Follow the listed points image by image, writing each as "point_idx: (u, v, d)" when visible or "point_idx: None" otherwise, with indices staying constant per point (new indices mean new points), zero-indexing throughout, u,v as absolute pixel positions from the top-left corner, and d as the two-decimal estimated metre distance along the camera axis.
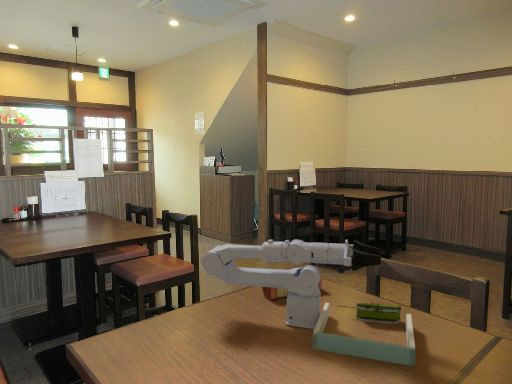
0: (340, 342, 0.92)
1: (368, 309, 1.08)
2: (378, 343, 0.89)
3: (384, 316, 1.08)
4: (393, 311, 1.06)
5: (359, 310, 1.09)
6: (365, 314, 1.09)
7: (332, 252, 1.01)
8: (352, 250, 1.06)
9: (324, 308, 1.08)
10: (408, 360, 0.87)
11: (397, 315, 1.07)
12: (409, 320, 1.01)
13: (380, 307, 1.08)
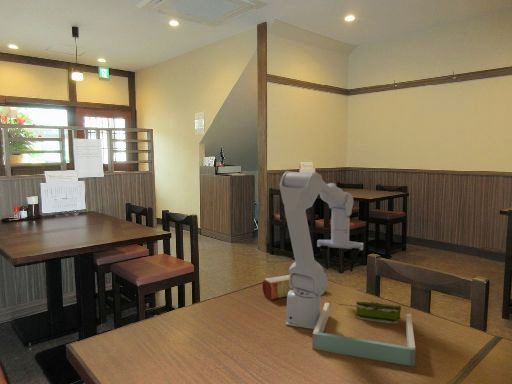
0: (340, 342, 0.92)
1: (367, 308, 1.08)
2: (378, 343, 0.89)
3: (383, 315, 1.08)
4: (392, 311, 1.06)
5: (359, 309, 1.10)
6: (365, 313, 1.10)
7: None
8: None
9: (324, 308, 1.08)
10: (408, 360, 0.87)
11: (397, 315, 1.07)
12: (409, 320, 1.01)
13: (379, 306, 1.08)
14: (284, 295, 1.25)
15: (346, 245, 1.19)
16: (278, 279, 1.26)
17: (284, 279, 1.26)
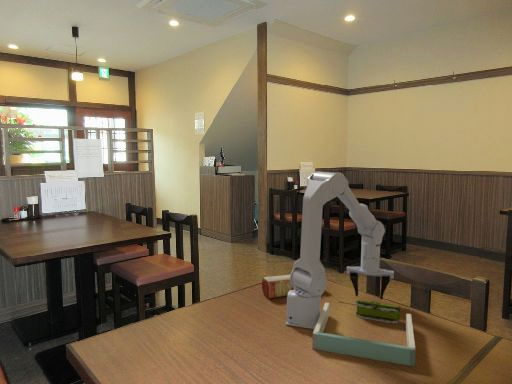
0: (340, 342, 0.92)
1: (366, 307, 1.09)
2: (378, 343, 0.89)
3: (383, 315, 1.09)
4: (391, 310, 1.06)
5: (358, 307, 1.11)
6: (364, 312, 1.11)
7: None
8: (359, 273, 1.23)
9: (324, 308, 1.08)
10: (408, 360, 0.87)
11: (396, 315, 1.07)
12: (409, 320, 1.01)
13: (379, 306, 1.09)
14: (282, 294, 1.26)
15: (377, 273, 1.19)
16: (277, 278, 1.26)
17: (283, 278, 1.27)
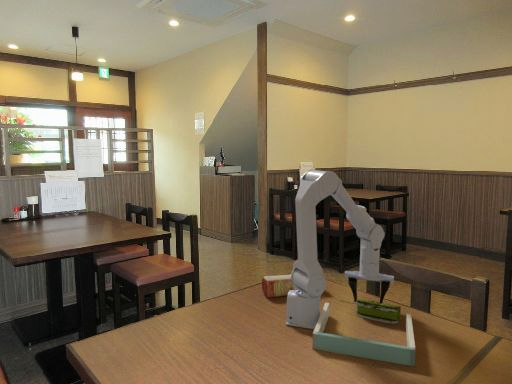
0: (340, 342, 0.92)
1: (366, 306, 1.09)
2: (378, 343, 0.89)
3: (383, 315, 1.09)
4: (390, 310, 1.06)
5: (358, 306, 1.12)
6: (364, 311, 1.11)
7: None
8: (358, 278, 1.19)
9: (324, 308, 1.08)
10: (408, 360, 0.87)
11: (396, 315, 1.07)
12: (409, 320, 1.01)
13: (379, 305, 1.09)
14: (281, 294, 1.26)
15: (376, 278, 1.14)
16: (276, 278, 1.27)
17: (282, 278, 1.27)
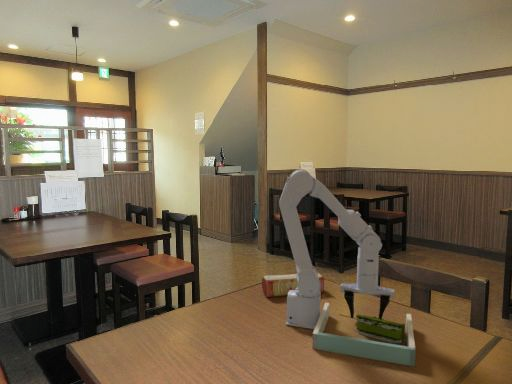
0: (340, 342, 0.92)
1: (366, 322, 0.99)
2: (378, 343, 0.89)
3: (385, 333, 0.98)
4: (393, 329, 0.96)
5: (358, 322, 1.02)
6: (365, 328, 1.01)
7: None
8: (355, 291, 1.08)
9: (324, 308, 1.08)
10: (408, 360, 0.87)
11: (399, 334, 0.96)
12: (409, 320, 1.01)
13: (380, 322, 0.98)
14: (281, 294, 1.26)
15: (375, 292, 1.03)
16: (276, 277, 1.27)
17: (282, 278, 1.27)
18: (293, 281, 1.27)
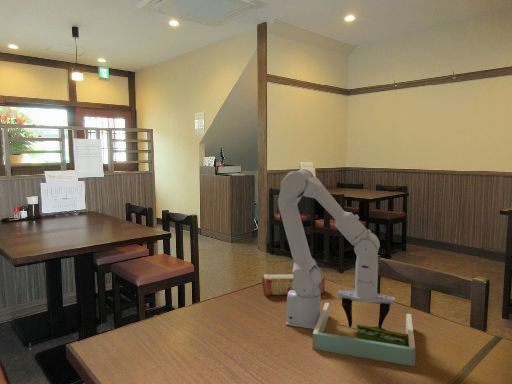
0: (340, 342, 0.92)
1: (368, 333, 0.94)
2: (378, 343, 0.89)
3: None
4: (396, 339, 0.91)
5: (359, 333, 0.96)
6: (366, 339, 0.95)
7: None
8: (353, 299, 1.02)
9: (324, 308, 1.08)
10: (408, 360, 0.87)
11: (403, 345, 0.91)
12: (409, 320, 1.01)
13: (383, 333, 0.93)
14: (279, 293, 1.27)
15: (374, 300, 0.98)
16: (275, 276, 1.28)
17: (281, 277, 1.28)
18: (292, 281, 1.27)
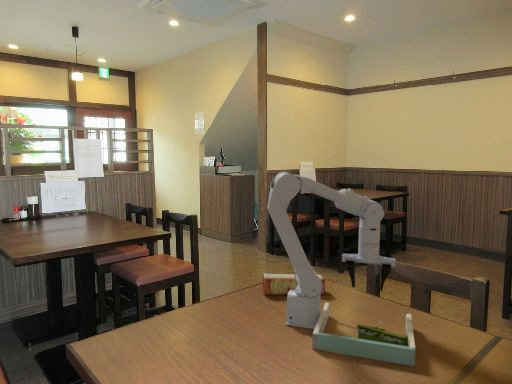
0: (340, 342, 0.92)
1: (367, 333, 0.94)
2: (378, 343, 0.89)
3: None
4: (395, 341, 0.90)
5: (359, 332, 0.96)
6: (366, 339, 0.96)
7: None
8: (356, 261, 1.09)
9: (324, 308, 1.08)
10: (408, 360, 0.87)
11: None
12: (409, 320, 1.01)
13: (382, 333, 0.93)
14: (278, 292, 1.28)
15: (376, 261, 1.04)
16: (274, 276, 1.29)
17: (280, 277, 1.28)
18: (291, 281, 1.27)
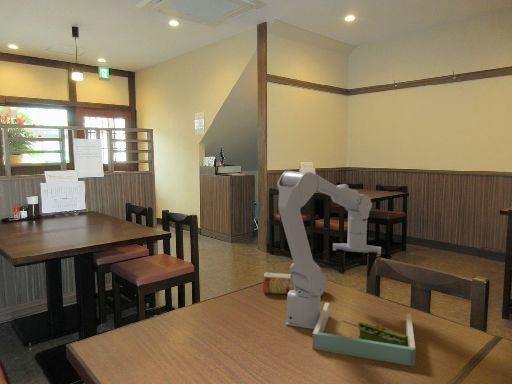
0: (340, 342, 0.92)
1: (367, 331, 0.95)
2: (378, 343, 0.89)
3: None
4: (394, 340, 0.90)
5: (360, 330, 0.97)
6: (367, 337, 0.96)
7: None
8: None
9: (324, 308, 1.08)
10: (408, 360, 0.87)
11: None
12: (409, 320, 1.01)
13: (382, 332, 0.93)
14: (277, 292, 1.28)
15: (363, 249, 1.14)
16: (274, 275, 1.30)
17: (280, 276, 1.29)
18: None
